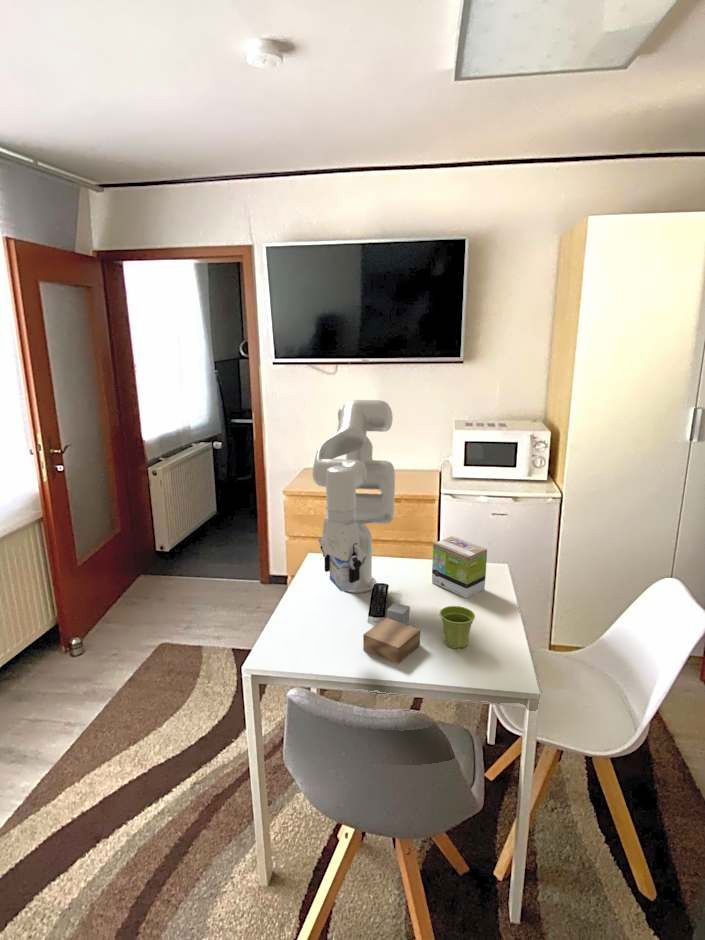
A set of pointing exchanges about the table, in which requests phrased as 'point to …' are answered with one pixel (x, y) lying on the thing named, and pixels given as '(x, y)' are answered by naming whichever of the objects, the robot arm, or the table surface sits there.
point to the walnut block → (391, 640)
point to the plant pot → (456, 625)
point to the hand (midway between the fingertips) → (341, 575)
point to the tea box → (459, 566)
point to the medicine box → (341, 574)
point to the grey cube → (399, 613)
